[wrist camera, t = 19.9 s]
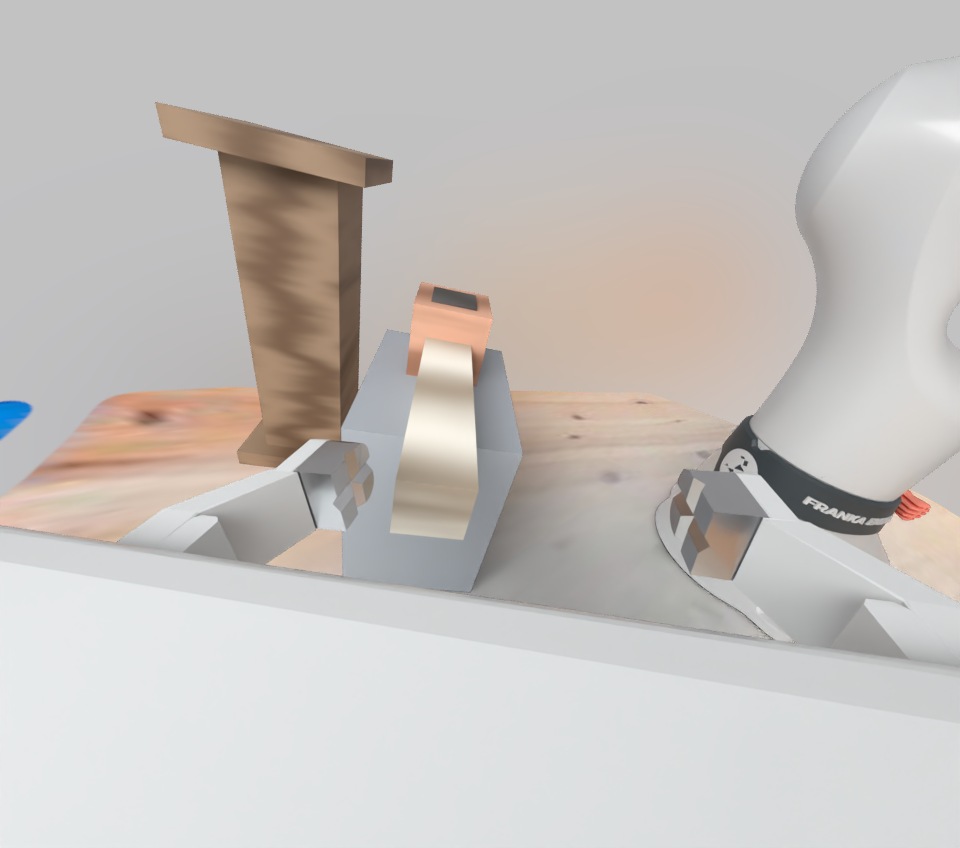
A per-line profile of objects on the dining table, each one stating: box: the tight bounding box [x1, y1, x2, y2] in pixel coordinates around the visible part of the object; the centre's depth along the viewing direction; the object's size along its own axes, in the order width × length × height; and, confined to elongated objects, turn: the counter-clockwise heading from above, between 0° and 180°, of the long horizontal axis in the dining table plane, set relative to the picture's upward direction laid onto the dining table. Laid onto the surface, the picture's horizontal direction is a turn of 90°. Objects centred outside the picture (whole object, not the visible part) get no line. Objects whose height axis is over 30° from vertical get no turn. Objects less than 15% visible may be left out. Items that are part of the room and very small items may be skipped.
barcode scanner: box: [390, 282, 493, 540], centre depth 20 cm, size 18×5×5 cm, turn 2°
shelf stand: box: [155, 102, 393, 468], centre depth 31 cm, size 11×10×26 cm
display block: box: [341, 330, 523, 592], centre depth 29 cm, size 10×14×15 cm
